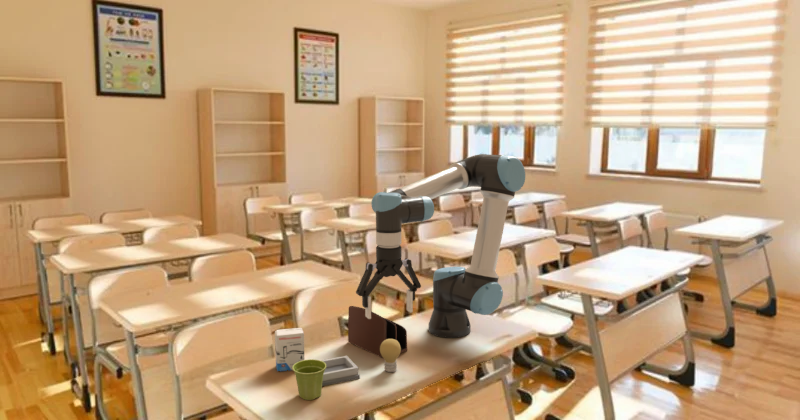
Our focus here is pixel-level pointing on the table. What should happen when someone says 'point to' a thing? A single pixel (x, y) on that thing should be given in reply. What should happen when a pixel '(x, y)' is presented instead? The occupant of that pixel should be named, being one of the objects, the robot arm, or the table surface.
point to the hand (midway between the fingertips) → (389, 314)
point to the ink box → (289, 348)
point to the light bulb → (390, 353)
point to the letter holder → (373, 331)
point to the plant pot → (309, 378)
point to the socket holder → (339, 370)
